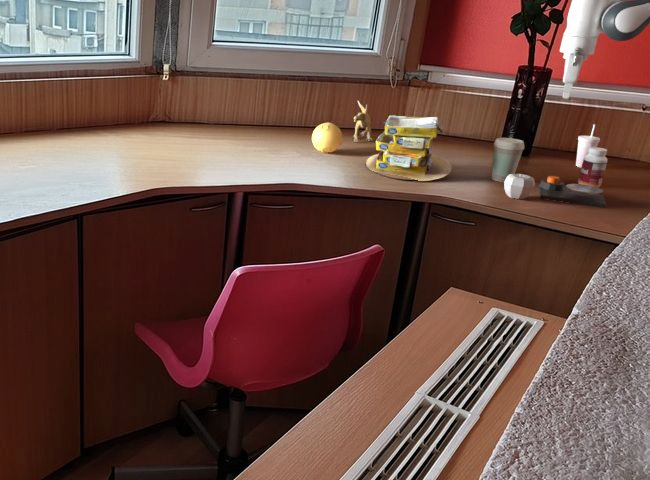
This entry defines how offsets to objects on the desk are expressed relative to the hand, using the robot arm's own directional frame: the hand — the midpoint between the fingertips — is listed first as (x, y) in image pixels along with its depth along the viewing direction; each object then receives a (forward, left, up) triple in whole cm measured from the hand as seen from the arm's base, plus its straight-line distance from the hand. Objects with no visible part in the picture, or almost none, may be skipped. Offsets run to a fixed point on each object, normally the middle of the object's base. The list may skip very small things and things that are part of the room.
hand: (565, 96), depth 210 cm
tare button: (-1, +16, -22) cm, 28 cm away
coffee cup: (+12, +10, -25) cm, 30 cm away
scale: (-6, +20, -25) cm, 32 cm away
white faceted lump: (+8, +29, -25) cm, 39 cm away
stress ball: (+67, +4, -25) cm, 72 cm away
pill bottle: (-12, +2, -25) cm, 28 cm away
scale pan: (-8, +22, -22) cm, 32 cm away
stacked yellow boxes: (+39, +15, -25) cm, 49 cm away
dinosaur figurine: (+60, -24, -25) cm, 70 cm away
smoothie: (-12, -24, -25) cm, 37 cm away
